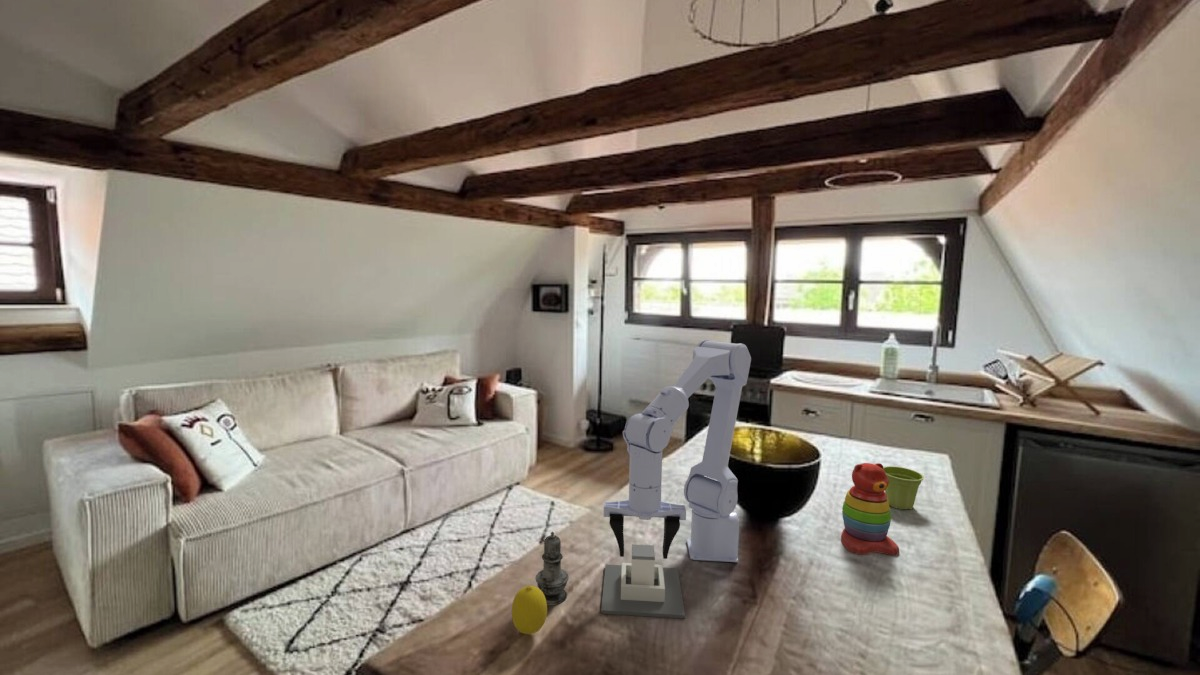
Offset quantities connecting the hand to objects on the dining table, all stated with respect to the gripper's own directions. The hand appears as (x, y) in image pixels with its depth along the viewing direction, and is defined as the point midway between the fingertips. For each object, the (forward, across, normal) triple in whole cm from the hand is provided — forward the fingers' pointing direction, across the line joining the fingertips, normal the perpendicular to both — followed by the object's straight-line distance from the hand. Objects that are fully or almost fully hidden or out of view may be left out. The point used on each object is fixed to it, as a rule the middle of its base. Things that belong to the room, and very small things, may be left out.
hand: (643, 554), depth 91 cm
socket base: (+7, 0, 0) cm, 7 cm away
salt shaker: (+7, -16, -3) cm, 18 cm away
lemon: (+7, -18, -13) cm, 23 cm away
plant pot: (+8, +67, +43) cm, 80 cm away
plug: (+6, 0, 0) cm, 6 cm away
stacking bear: (+7, +49, +22) cm, 54 cm away
